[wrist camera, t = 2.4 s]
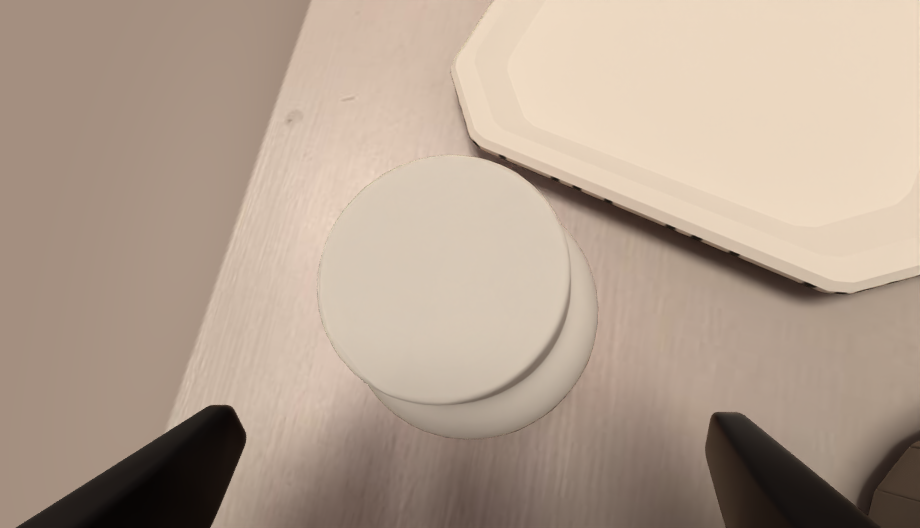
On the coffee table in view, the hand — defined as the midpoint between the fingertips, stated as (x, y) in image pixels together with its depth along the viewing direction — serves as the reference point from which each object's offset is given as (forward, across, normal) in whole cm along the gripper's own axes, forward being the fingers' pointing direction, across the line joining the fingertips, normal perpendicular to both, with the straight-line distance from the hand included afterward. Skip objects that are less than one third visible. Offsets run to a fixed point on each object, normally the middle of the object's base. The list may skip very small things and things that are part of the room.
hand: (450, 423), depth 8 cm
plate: (+19, -10, -4) cm, 22 cm away
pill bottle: (+9, 0, +5) cm, 10 cm away
